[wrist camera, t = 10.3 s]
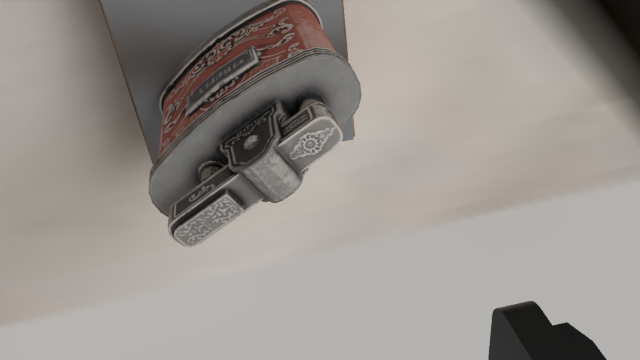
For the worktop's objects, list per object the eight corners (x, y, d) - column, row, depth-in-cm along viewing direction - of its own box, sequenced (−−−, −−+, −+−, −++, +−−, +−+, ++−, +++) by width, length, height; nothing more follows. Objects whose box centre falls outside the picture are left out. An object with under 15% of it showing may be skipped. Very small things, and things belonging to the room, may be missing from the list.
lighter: (289, -28, 23) (342, 60, 15) (334, 36, 25) (405, 146, 16) (141, 89, 24) (114, 228, 16) (194, 141, 26) (194, 290, 18)
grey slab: (101, -60, 26) (83, -36, 21) (317, -92, 26) (339, -75, 22) (160, 132, 31) (155, 180, 27) (336, 100, 32) (357, 141, 28)
